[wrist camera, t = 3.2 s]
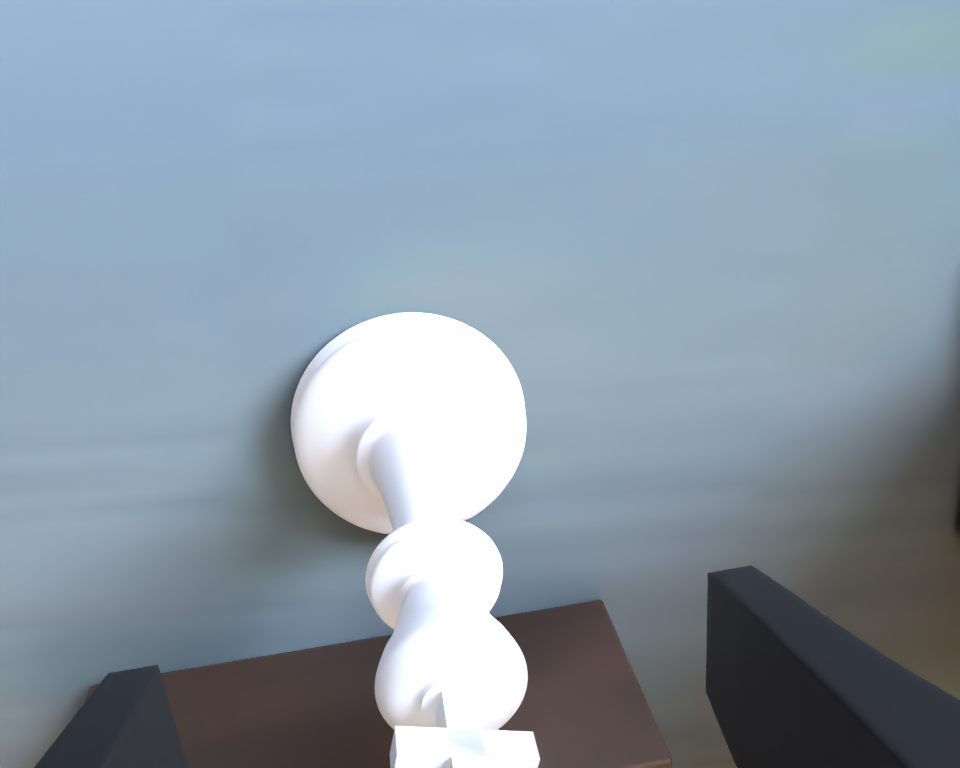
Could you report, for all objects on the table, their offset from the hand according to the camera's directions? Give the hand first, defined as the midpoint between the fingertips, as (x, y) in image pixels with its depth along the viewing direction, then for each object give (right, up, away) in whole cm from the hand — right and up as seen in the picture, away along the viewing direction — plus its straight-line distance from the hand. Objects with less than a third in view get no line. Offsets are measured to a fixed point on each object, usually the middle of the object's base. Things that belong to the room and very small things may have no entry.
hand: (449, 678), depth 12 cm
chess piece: (-1, +3, +7) cm, 8 cm away
